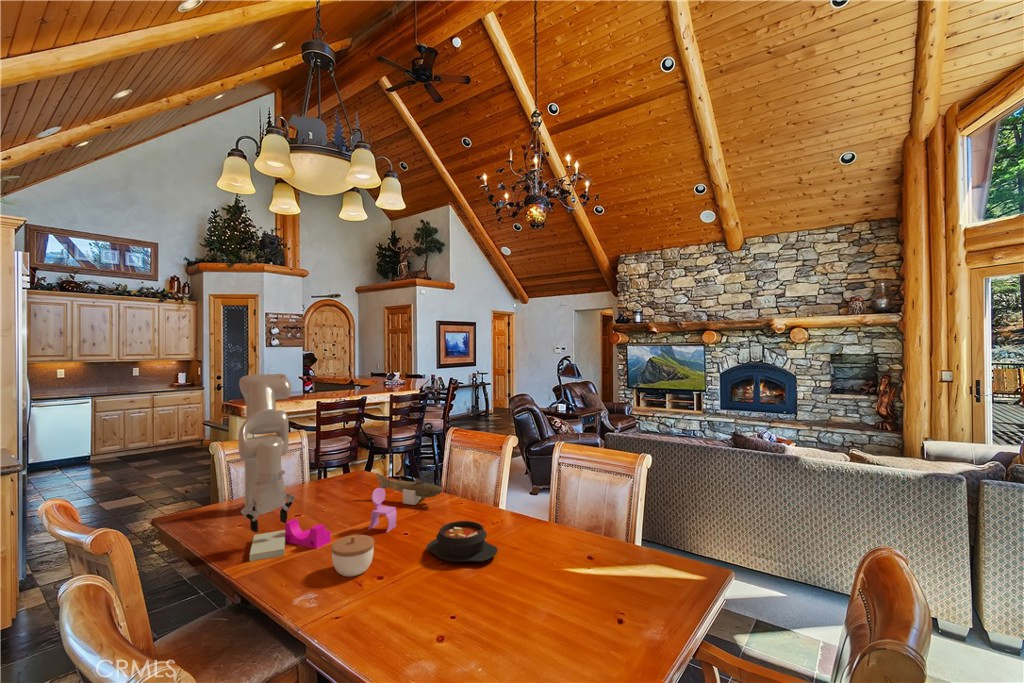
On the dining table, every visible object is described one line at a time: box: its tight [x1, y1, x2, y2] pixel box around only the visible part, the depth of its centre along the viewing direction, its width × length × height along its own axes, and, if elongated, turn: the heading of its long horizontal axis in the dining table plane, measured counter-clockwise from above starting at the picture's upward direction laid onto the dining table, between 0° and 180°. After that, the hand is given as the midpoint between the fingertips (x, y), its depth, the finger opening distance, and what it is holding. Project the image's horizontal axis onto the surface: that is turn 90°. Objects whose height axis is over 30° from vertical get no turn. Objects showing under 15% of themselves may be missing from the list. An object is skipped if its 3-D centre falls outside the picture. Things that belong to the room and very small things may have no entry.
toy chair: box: [367, 487, 397, 533], centre depth 175 cm, size 8×9×15 cm
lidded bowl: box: [330, 534, 375, 578], centre depth 141 cm, size 13×13×11 cm
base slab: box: [249, 529, 286, 562], centre depth 157 cm, size 17×10×4 cm, turn 25°
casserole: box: [426, 520, 499, 563], centre depth 153 cm, size 25×19×8 cm
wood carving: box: [375, 472, 444, 506], centre depth 204 cm, size 9×35×11 cm, turn 68°
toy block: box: [284, 518, 331, 550], centre depth 162 cm, size 15×6×8 cm, turn 67°
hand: (269, 526), depth 157 cm, fingers open, 9 cm apart
